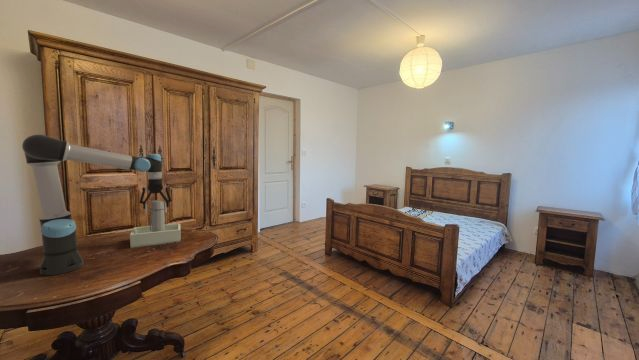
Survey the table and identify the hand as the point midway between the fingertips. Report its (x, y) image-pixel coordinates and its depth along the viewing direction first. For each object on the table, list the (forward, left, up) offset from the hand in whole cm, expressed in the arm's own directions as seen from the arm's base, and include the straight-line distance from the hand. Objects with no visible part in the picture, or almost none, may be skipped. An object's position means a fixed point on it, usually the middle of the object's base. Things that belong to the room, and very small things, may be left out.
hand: (156, 213), depth 168 cm
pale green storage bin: (0, 0, -18) cm, 18 cm away
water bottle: (0, 0, -17) cm, 17 cm away
